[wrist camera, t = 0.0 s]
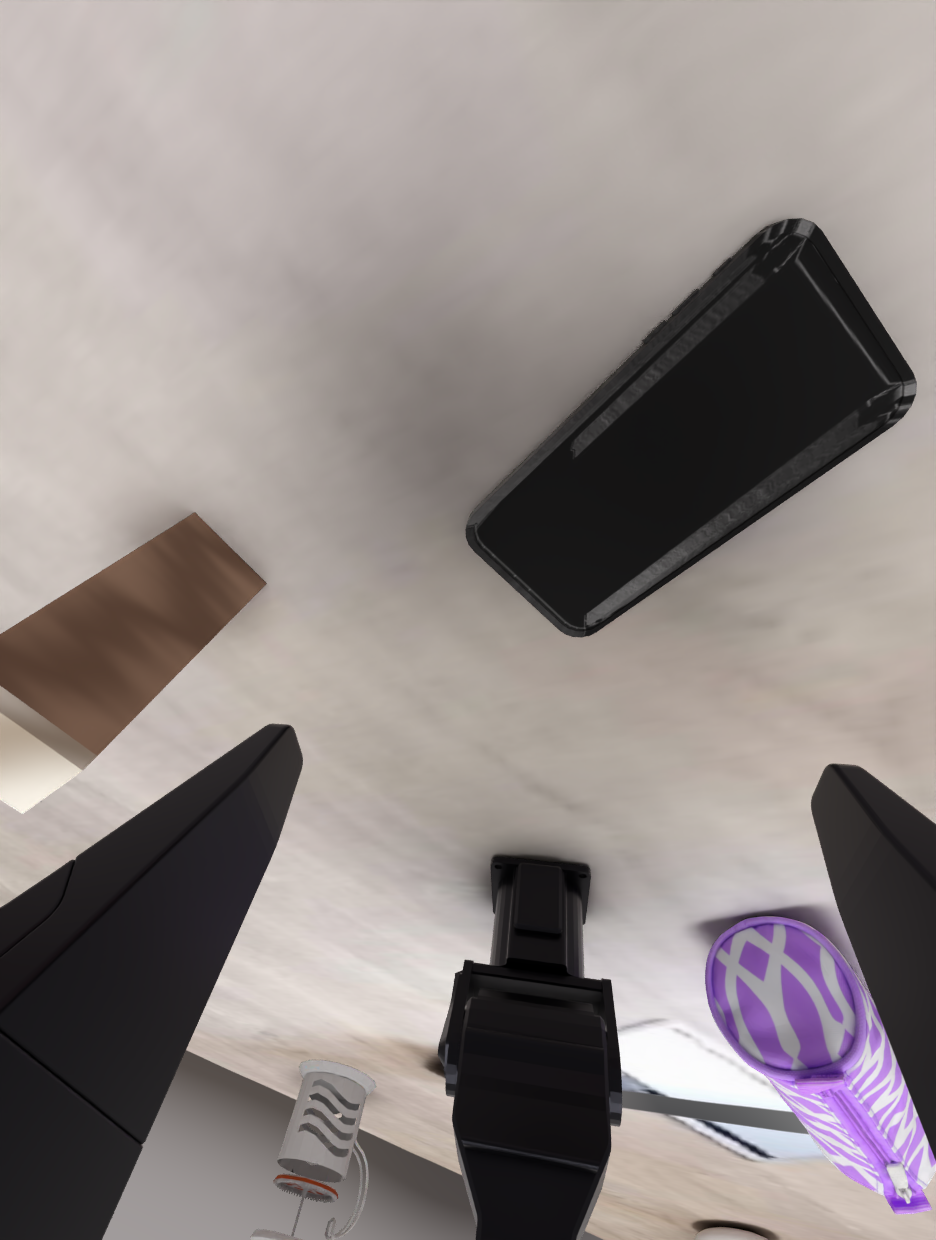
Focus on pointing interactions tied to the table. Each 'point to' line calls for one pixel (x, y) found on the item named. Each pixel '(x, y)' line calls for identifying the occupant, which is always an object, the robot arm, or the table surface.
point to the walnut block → (109, 653)
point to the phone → (698, 433)
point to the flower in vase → (727, 1234)
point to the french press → (322, 1138)
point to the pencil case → (821, 1051)
